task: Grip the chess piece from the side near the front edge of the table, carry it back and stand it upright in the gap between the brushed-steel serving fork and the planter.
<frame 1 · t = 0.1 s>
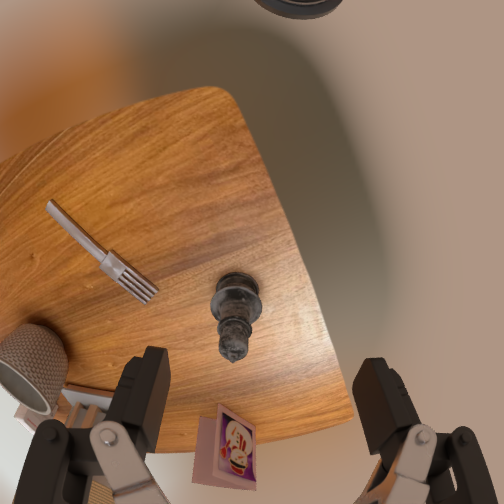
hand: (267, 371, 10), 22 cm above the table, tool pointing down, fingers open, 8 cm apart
fork: (100, 252, 33), on the table
greeting card: (226, 418, 48), on the table
planter: (49, 338, 40), on the table
desk lamp: (103, 403, 48), on the table
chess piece: (237, 290, 35), on the table
ink box: (45, 394, 50), on the table
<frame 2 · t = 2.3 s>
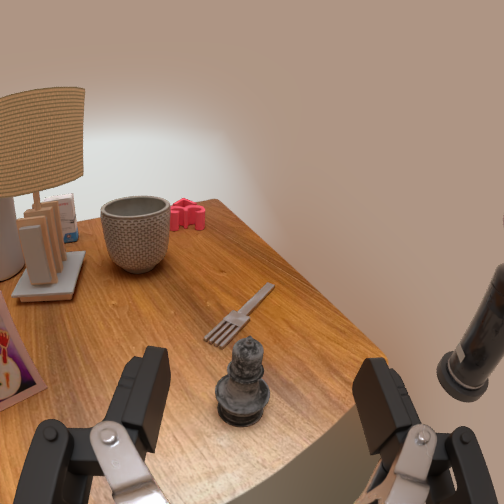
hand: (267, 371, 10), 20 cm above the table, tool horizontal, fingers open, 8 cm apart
letters: (184, 222, 80), on the table
fork: (244, 313, 46), on the table
greeting card: (10, 389, 23), on the table
planter: (139, 266, 56), on the table
cylinder vase: (4, 270, 46), on the table
desk lamp: (52, 282, 46), on the table
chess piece: (240, 409, 29), on the table
ink box: (63, 240, 62), on the table
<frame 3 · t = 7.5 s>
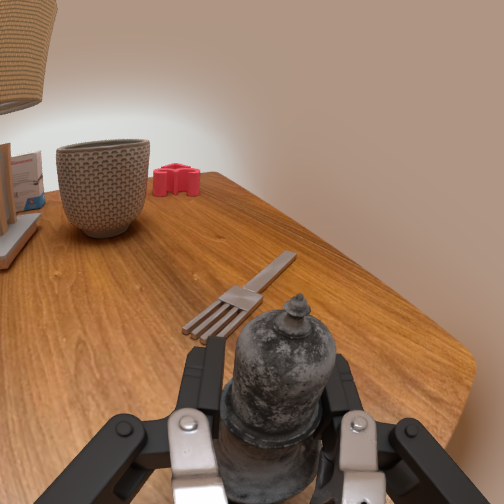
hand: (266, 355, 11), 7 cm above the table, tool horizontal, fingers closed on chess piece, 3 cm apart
letters: (175, 189, 63), on the table
fork: (253, 291, 28), on the table
planter: (106, 230, 39), on the table
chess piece: (250, 472, 12), on the table, touching gripper
ink box: (27, 209, 45), on the table
when the fingers open (7 cm above the table, at t = 16.0 s): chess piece stays where it is, on the table.
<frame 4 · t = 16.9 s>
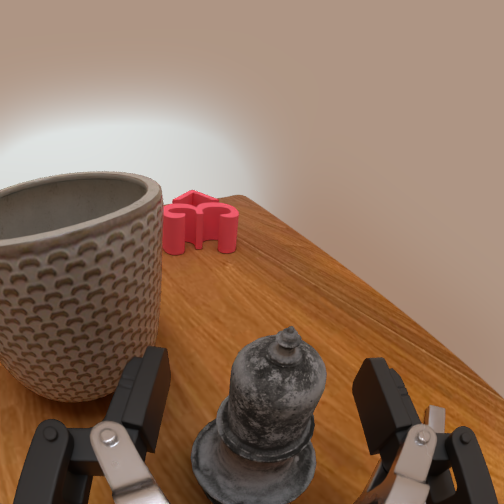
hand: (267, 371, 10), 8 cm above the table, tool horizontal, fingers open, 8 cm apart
letters: (195, 234, 43), on the table
planter: (88, 364, 18), on the table
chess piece: (247, 478, 12), on the table
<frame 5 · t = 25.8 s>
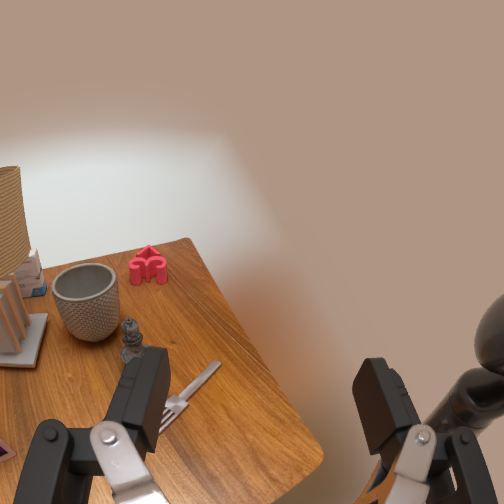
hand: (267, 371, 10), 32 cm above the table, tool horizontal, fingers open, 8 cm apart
letters: (149, 272, 77), on the table
fork: (185, 397, 42), on the table
planter: (96, 332, 52), on the table
desk lamp: (20, 345, 42), on the table
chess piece: (139, 367, 46), on the table
ink box: (33, 293, 58), on the table
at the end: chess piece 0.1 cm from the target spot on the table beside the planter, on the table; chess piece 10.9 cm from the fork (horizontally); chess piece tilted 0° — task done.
